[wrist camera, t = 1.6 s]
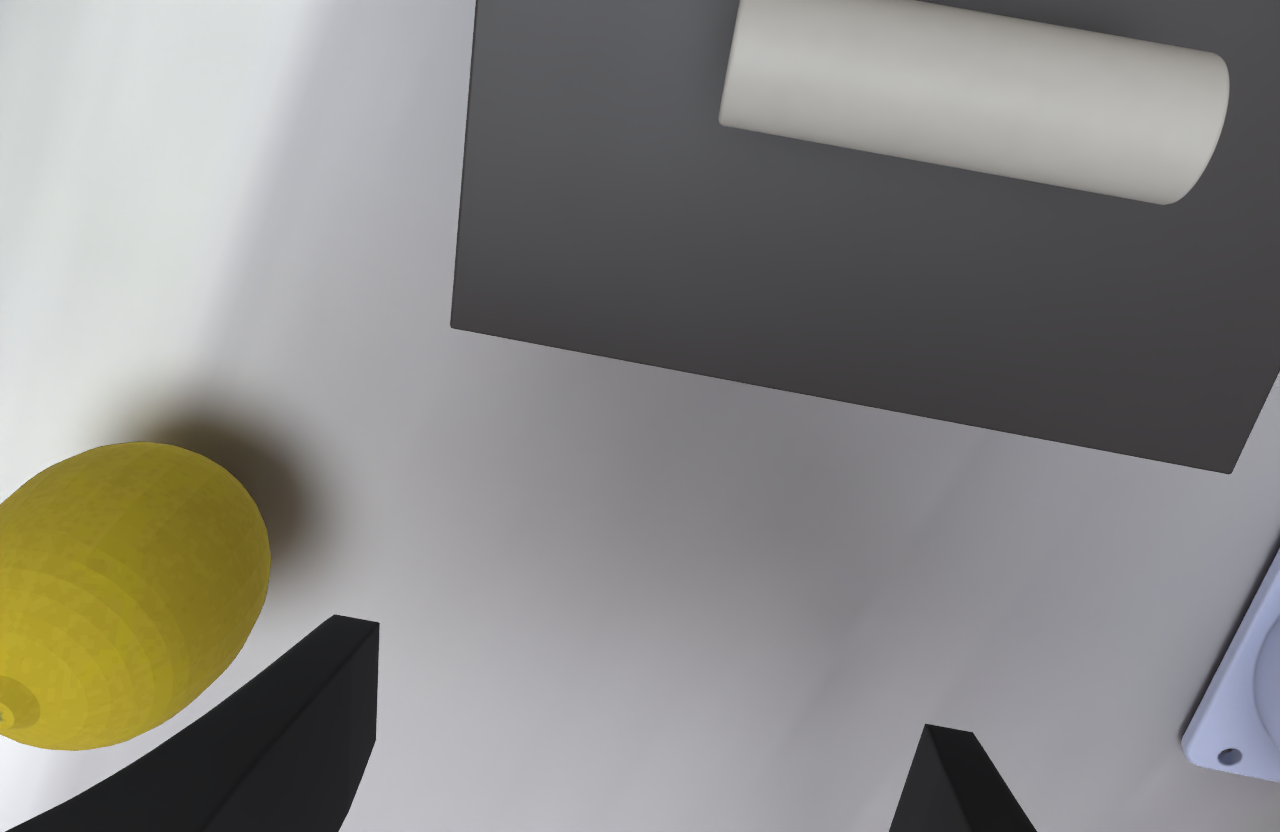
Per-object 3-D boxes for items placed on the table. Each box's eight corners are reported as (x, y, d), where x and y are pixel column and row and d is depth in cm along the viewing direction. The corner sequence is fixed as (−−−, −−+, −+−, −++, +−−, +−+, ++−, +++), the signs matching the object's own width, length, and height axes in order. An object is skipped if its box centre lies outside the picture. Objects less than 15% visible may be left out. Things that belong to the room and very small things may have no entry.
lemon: (340, 588, 26) (179, 842, 19) (132, 581, 27) (-99, 825, 20) (301, 386, 24) (100, 589, 17) (74, 384, 24) (-214, 578, 17)
